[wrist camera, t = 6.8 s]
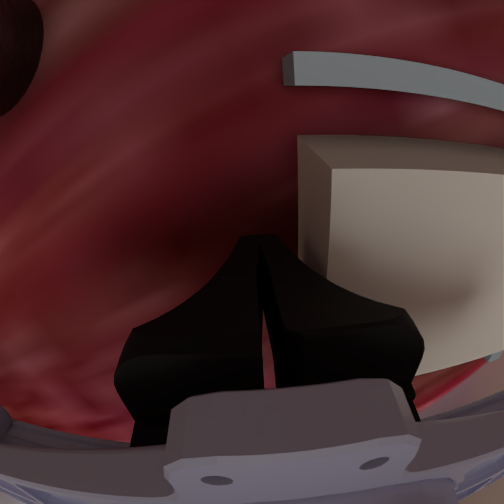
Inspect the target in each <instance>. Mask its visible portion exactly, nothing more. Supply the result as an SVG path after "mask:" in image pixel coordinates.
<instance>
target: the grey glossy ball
mask: <svg viewBox="0 0 504 504" xmlns="http://www.w3.org/2000/svg"><path fill="white" fill-rule="evenodd" d="M42 46H43V22H42V17H41V14H40V11H39V9H38V7H37V5H36V4H35V3H34V2H33V0H0V117H1V116H3V115H5V114H6V113H7V112H9V111H10V110H11V109H12V108H13V107H14V106H15V105H16V104H17V103H18V102H19V101H20V99H21V98H22V97H23V95H24V94H25V92H26V91H27V89H28V87H29V85H30V84H31V81H32V79H33V77H34V75H35V72H36V70H37V67H38V64H39V60H40V56H41V52H42Z"/></svg>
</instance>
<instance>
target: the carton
mask: <svg viewBox="0 0 504 504" xmlns="http://www.w3.org/2000/svg"><path fill="white" fill-rule="evenodd" d="M297 151H298V258H299V259H300V260H301V261H302V262H303V263H305V264H306V265H307V266H308V267H310V268H311V269H312V270H314V271H315V272H316V273H318V274H319V275H321V276H323V277H324V278H326V279H327V280H329V281H331V282H332V283H334V284H336V285H338V286H340V287H342V288H344V289H346V290H348V291H351V292H353V293H355V294H358V295H360V296H363V297H366V298H368V299H371V300H374V301H377V302H381V303H385V304H389V305H393V306H397V307H400V308H404V309H405V310H406V311H407V313H408V314H409V315H410V317H411V318H412V320H413V321H414V323H415V325H416V326H417V328H418V330H419V332H420V334H421V336H422V337H423V339H424V345H425V350H424V354H423V358H422V360H421V363H420V365H419V367H418V370H417V372H416V374H415V376H416V375H421V374H425V373H429V372H433V371H437V370H441V369H444V368H448V367H452V366H455V365H459V364H462V363H465V362H469V361H472V360H475V359H478V358H482V357H485V356H488V355H491V354H494V353H497V352H499V351H502V350H504V149H502V148H498V147H491V146H485V145H478V144H470V143H462V142H454V141H444V140H434V139H423V138H409V137H393V136H371V135H297Z"/></svg>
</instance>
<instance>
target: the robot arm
mask: <svg viewBox="0 0 504 504" xmlns="http://www.w3.org/2000/svg"><path fill="white" fill-rule="evenodd" d="M263 310H264V315H265V320H266V325H267V330H268V335H269V339H270V344H271V349H272V355H273V361H274V371H275V382H276V388H273V389H264V376H263V359H262V323H263ZM424 350H425V345H424V339H423V337H422V336H421V334H420V332H419V330H418V328H417V326H416V325H415V323H414V321H413V320H412V318H411V317H410V315H409V314H408V313H407V311H406V310H405V309H404V308H400V307H397V306H393V305H389V304H385V303H381V302H377V301H374V300H371V299H368V298H366V297H363V296H360V295H358V294H355V293H353V292H351V291H348V290H346V289H344V288H342V287H340V286H338V285H336V284H334V283H332V282H331V281H329V280H327V279H326V278H324V277H323V276H321V275H319V274H318V273H316V272H315V271H314V270H312V269H311V268H310V267H308V266H307V265H306V264H305V263H303V262H302V261H301V260H300V259H299V258H298V257H297V256H296V255H295V254H294V253H293V252H292V251H291V250H290V249H289V248H288V247H287V246H286V245H285V244H284V243H283V242H282V241H281V239H280V238H279V237H278V236H277V235H276V234H264V235H249V236H241V237H240V238H239V239H238V242H237V244H236V246H235V248H234V249H233V251H232V253H231V254H230V256H229V257H228V259H227V260H226V261H225V263H224V264H223V266H222V267H221V268H220V269H219V271H218V272H217V273H216V274H215V275H214V277H213V278H212V279H211V280H210V281H209V282H208V283H207V284H206V285H205V286H204V287H203V288H202V289H201V290H199V291H198V292H197V293H195V294H194V295H193V296H191V297H190V298H189V299H188V300H186V301H185V302H183V303H182V304H180V305H179V306H177V307H176V308H174V309H172V310H171V311H169V312H167V313H165V314H164V315H162V316H160V317H158V318H156V319H154V320H151V321H149V322H147V323H145V324H143V325H140V326H138V327H136V328H133V329H132V331H131V333H130V335H129V337H128V339H127V341H126V343H125V345H124V348H123V350H122V353H121V356H120V359H119V362H118V365H117V368H116V371H115V374H114V385H115V388H116V390H117V393H118V394H119V396H120V398H121V400H122V401H123V403H124V404H125V406H126V408H127V409H128V411H129V412H130V414H131V416H132V417H133V419H134V420H135V424H134V429H133V433H132V438H131V443H126V442H118V441H111V440H104V439H98V438H92V437H86V436H81V435H75V434H70V433H66V432H61V431H57V430H52V429H48V428H44V427H40V426H36V425H32V424H29V423H25V422H21V421H18V420H15V419H12V417H11V416H10V414H9V413H8V412H7V411H6V410H5V409H4V408H3V407H2V406H1V405H0V491H1V492H3V493H5V494H7V495H9V496H11V497H13V498H15V499H17V500H19V501H22V502H24V503H26V504H459V502H458V501H460V500H462V499H464V498H466V497H468V496H470V495H471V494H474V493H475V492H477V491H479V490H481V489H483V488H485V487H486V486H488V485H490V484H492V483H493V482H495V481H497V480H498V479H500V478H501V477H503V476H504V390H502V391H500V392H497V393H495V394H493V395H490V396H488V397H485V398H483V399H480V400H477V401H475V402H472V403H470V404H467V405H464V406H461V407H458V408H455V409H453V410H450V411H447V412H443V413H441V414H437V415H434V416H431V417H428V418H424V419H420V418H419V415H418V413H417V410H416V408H415V405H414V403H413V400H414V398H415V391H414V389H413V386H412V384H411V383H412V381H413V378H414V376H415V374H416V372H417V370H418V367H419V365H420V363H421V360H422V358H423V354H424Z"/></svg>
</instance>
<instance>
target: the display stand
mask: <svg viewBox="0 0 504 504" xmlns="http://www.w3.org/2000/svg"><path fill="white" fill-rule="evenodd" d="M282 67H283V86H342V87H359V88H372V89H383V90H393V91H402V92H410V93H417V94H424V95H430V96H437V97H442V98H448V99H453V100H459V101H464V102H468V103H473V104H477V105H482V106H486V107H490V108H494V109H498V110H502V111H504V85H503V84H500V83H497V82H494V81H491V80H488V79H484V78H481V77H477V76H474V75H470V74H466V73H463V72H459V71H455V70H450V69H446V68H442V67H437V66H432V65H427V64H422V63H417V62H411V61H405V60H399V59H392V58H385V57H377V56H368V55H359V54H347V53H333V52H309V51H293V52H291V53H290V54H288V55H287V56H285V57H284V58H282ZM502 352H503V350H502V351H499V352H497V353H494V354H491V355H488V356H485V357H484V358H485V360H486V361H487V362H490V361H493V360H496V359H498V358H499V357H500V355H501V353H502Z"/></svg>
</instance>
